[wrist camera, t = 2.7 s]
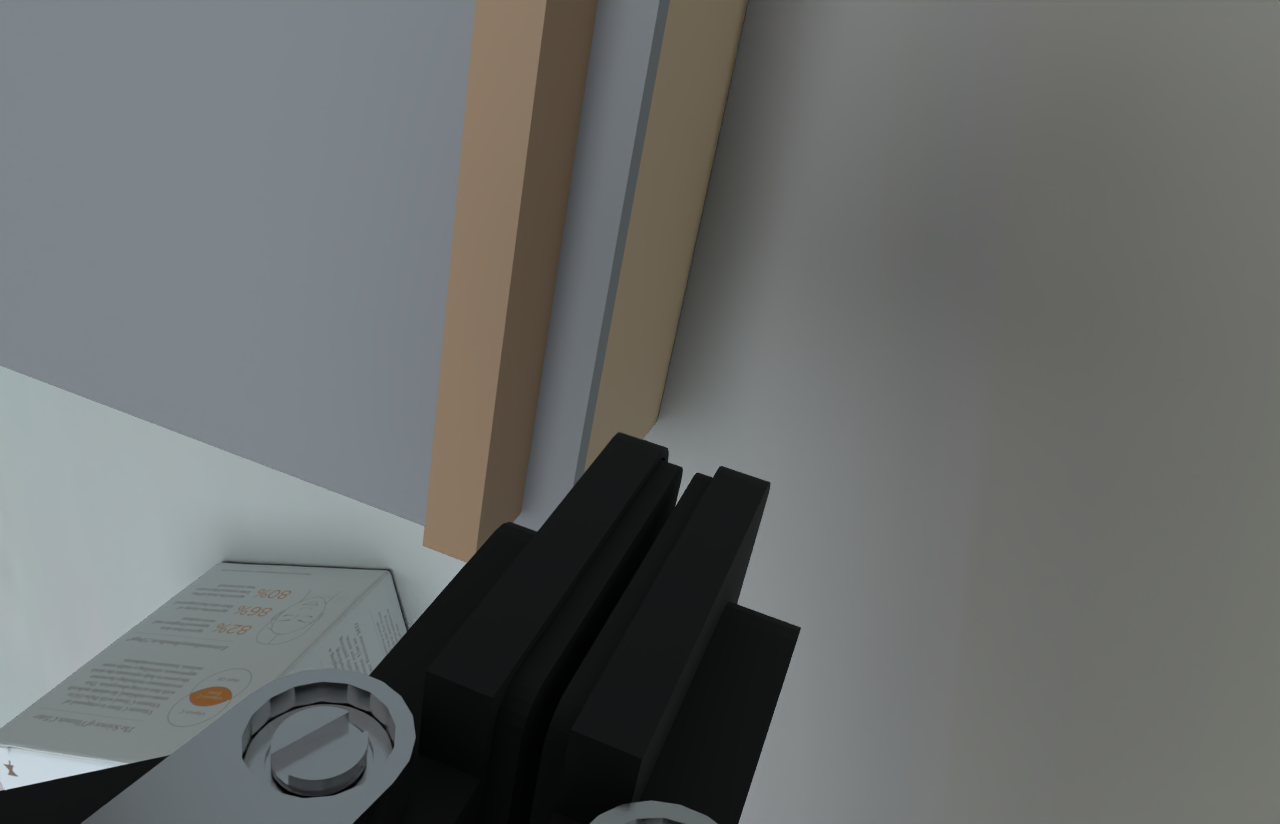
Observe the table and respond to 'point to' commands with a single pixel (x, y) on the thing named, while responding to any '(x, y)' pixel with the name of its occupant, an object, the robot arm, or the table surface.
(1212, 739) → the table surface
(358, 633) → the small box
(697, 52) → the tray
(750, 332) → the table surface
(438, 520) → the lid
